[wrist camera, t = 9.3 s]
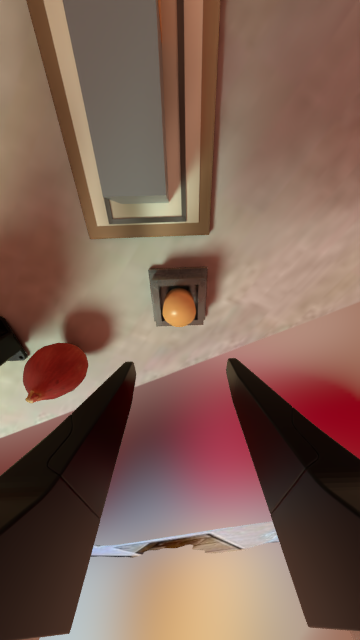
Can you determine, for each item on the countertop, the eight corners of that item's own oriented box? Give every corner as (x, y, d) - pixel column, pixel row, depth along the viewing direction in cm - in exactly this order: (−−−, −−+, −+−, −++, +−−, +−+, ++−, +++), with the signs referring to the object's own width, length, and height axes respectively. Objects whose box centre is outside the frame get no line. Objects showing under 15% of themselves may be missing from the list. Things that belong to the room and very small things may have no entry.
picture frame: (92, 238, 16) (88, 239, 15) (9, -85, 9) (-6, -113, 8) (208, 234, 16) (209, 234, 15) (222, -95, 9) (227, -123, 8)
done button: (165, 315, 18) (163, 327, 16) (163, 288, 16) (161, 297, 14) (193, 314, 18) (195, 326, 16) (193, 287, 16) (196, 296, 14)
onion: (101, 364, 24) (70, 422, 17) (60, 363, 24) (11, 421, 17) (93, 330, 21) (52, 382, 14) (46, 328, 21) (-20, 380, 14)
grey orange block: (120, 204, 14) (101, 196, 11) (84, -17, 9) (25, -173, 6) (169, 202, 14) (166, 195, 11) (159, -20, 9) (148, -176, 6)
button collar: (155, 319, 20) (152, 330, 18) (149, 268, 17) (145, 274, 15) (204, 317, 20) (207, 328, 18) (206, 266, 17) (210, 272, 15)
